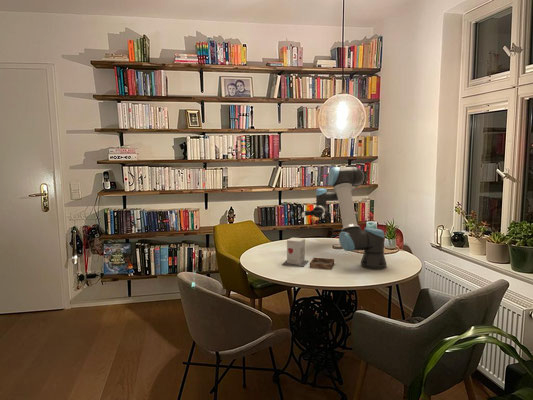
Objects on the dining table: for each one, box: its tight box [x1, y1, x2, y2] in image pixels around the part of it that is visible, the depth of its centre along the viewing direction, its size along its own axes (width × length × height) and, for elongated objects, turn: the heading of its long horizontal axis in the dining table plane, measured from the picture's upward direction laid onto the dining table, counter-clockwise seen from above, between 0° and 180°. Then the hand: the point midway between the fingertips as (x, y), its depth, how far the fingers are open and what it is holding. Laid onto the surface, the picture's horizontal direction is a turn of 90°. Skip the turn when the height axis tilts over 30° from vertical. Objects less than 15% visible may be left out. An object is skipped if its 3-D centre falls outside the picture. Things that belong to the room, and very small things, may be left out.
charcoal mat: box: [281, 259, 310, 268], centre depth 237 cm, size 14×13×1 cm
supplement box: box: [286, 236, 306, 265], centre depth 236 cm, size 9×9×15 cm
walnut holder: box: [309, 256, 335, 270], centre depth 231 cm, size 13×13×3 cm
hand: (312, 216), depth 248 cm, fingers open, 13 cm apart
